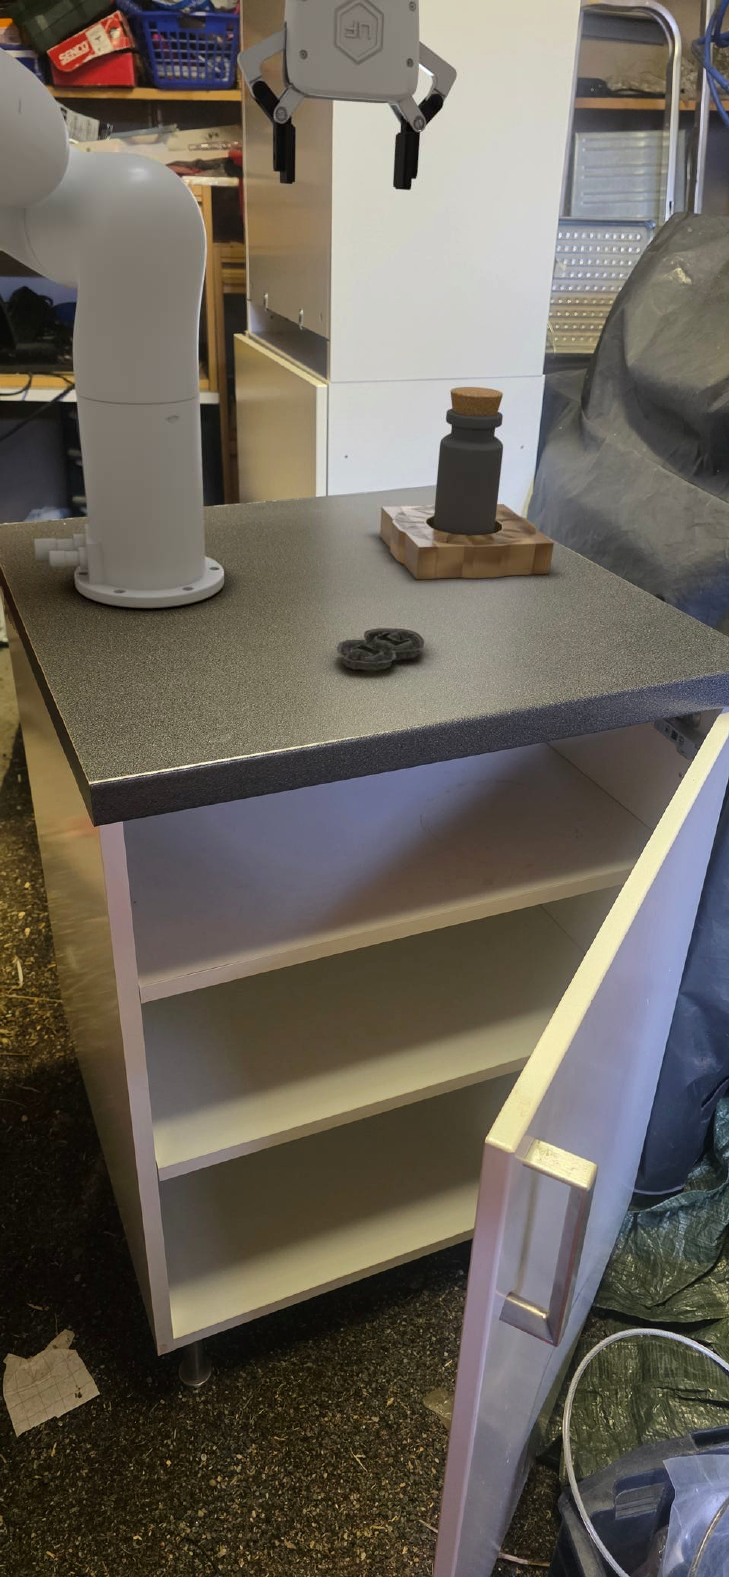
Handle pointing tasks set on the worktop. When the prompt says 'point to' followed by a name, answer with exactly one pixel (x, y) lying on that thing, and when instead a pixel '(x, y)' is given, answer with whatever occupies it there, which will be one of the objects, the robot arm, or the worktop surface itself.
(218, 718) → the worktop surface
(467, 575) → the socket pad
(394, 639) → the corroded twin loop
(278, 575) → the worktop surface
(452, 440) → the bottle
